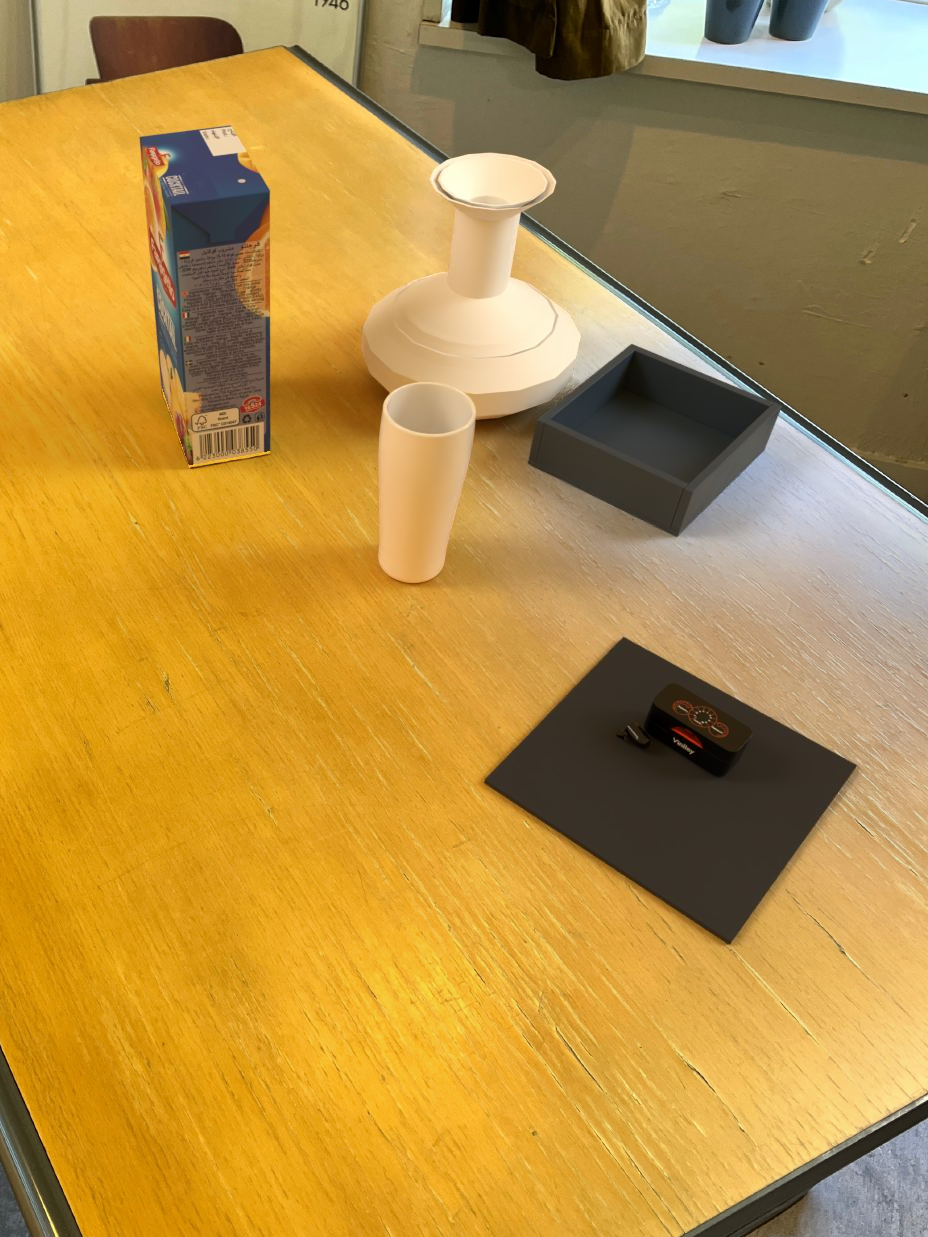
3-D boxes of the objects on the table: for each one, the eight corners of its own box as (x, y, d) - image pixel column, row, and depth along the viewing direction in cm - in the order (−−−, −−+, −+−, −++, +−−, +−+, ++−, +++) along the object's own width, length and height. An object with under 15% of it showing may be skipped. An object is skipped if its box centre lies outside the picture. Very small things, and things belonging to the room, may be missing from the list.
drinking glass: (358, 582, 90) (371, 426, 78) (380, 529, 94) (394, 373, 83) (442, 601, 88) (467, 444, 77) (460, 545, 92) (486, 389, 81)
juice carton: (270, 455, 101) (270, 190, 83) (189, 469, 99) (170, 204, 81) (237, 381, 108) (230, 124, 90) (161, 393, 107) (139, 136, 89)
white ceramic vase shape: (614, 385, 107) (667, 185, 93) (469, 472, 99) (501, 266, 84) (460, 301, 117) (485, 109, 103) (316, 373, 109) (322, 175, 95)
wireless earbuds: (650, 704, 80) (661, 674, 78) (740, 761, 77) (756, 731, 74) (613, 740, 78) (623, 710, 76) (704, 800, 75) (719, 771, 72)
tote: (764, 450, 100) (782, 405, 97) (677, 537, 93) (692, 492, 89) (619, 387, 107) (631, 343, 103) (527, 463, 99) (536, 419, 96)
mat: (855, 768, 77) (857, 764, 77) (729, 945, 68) (731, 942, 68) (622, 639, 85) (623, 636, 85) (483, 782, 76) (484, 779, 76)
